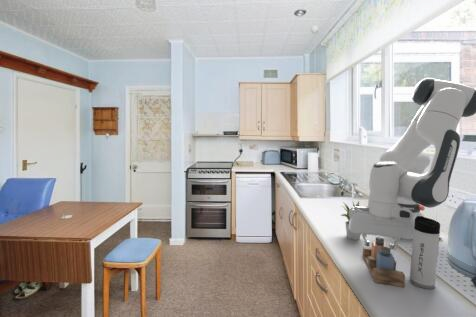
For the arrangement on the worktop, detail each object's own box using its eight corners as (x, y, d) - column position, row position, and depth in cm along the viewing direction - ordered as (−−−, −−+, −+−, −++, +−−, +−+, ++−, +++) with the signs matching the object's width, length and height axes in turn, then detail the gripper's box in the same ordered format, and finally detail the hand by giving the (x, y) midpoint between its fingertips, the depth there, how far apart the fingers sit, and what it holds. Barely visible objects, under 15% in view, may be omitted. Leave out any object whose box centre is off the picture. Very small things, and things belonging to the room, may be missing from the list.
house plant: (378, 247, 103) (380, 207, 101) (341, 243, 106) (344, 205, 104) (367, 233, 117) (370, 198, 115) (335, 231, 120) (337, 196, 118)
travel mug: (423, 276, 81) (428, 215, 80) (440, 289, 75) (446, 223, 73) (404, 276, 81) (409, 215, 79) (419, 289, 75) (425, 223, 73)
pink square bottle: (383, 258, 91) (384, 237, 90) (386, 264, 87) (388, 241, 86) (370, 257, 92) (372, 235, 91) (373, 262, 88) (375, 240, 87)
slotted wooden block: (386, 258, 94) (387, 248, 93) (404, 287, 76) (405, 276, 75) (362, 254, 96) (363, 245, 96) (374, 282, 78) (375, 271, 77)
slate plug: (389, 270, 83) (391, 246, 82) (393, 276, 79) (395, 252, 79) (375, 268, 84) (377, 245, 84) (378, 274, 80) (380, 250, 80)
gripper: (350, 208, 88) (348, 247, 89) (419, 214, 82) (416, 255, 83) (348, 203, 94) (346, 240, 95) (412, 208, 88) (408, 247, 89)
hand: (379, 247), depth 89 cm, fingers open, 7 cm apart
